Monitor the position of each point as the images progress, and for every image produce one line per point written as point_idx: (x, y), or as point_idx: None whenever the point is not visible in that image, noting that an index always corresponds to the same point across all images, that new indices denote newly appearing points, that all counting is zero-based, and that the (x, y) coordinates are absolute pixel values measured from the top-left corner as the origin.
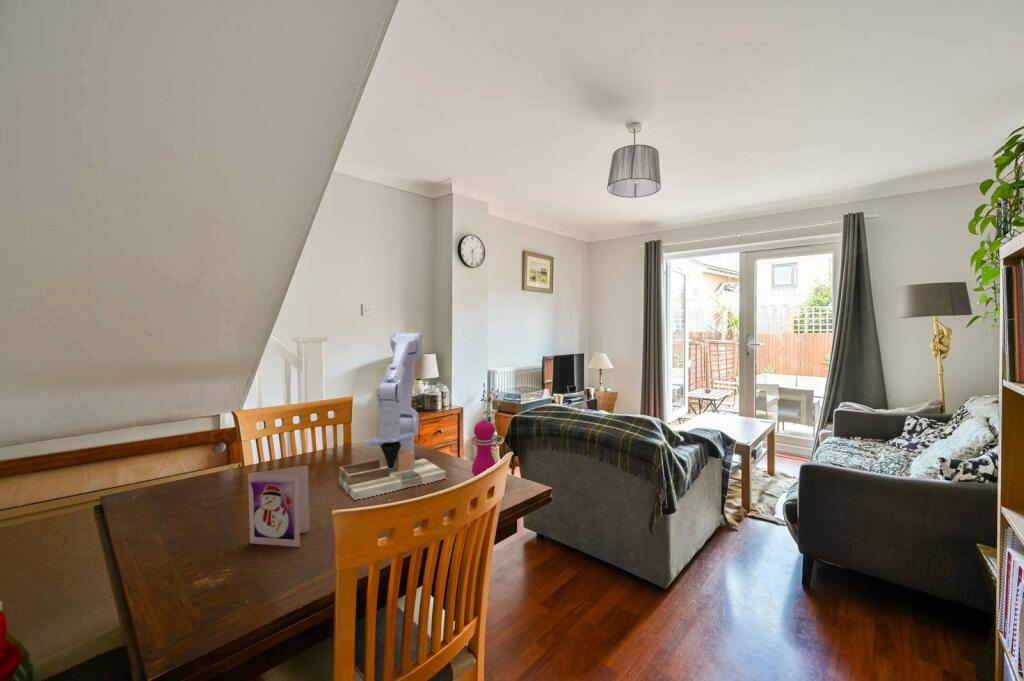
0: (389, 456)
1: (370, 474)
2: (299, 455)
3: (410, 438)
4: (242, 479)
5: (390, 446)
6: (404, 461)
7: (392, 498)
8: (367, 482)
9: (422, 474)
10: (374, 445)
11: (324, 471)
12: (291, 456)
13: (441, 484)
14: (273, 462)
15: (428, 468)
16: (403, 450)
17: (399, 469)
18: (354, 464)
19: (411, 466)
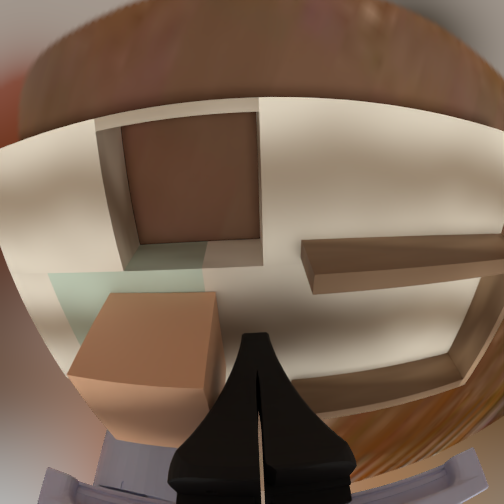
0: (286, 395)
1: (440, 255)
2: (368, 477)
3: (74, 492)
4: (494, 404)
5: (288, 477)
6: (161, 337)
7: (348, 18)
8: (442, 217)
9: (80, 161)
10: (411, 480)
11: (395, 422)
12: (380, 474)
13: (34, 86)
14: (418, 458)
15: (39, 251)
16: (148, 433)
17: (209, 300)
18: (417, 396)
19: (123, 304)
